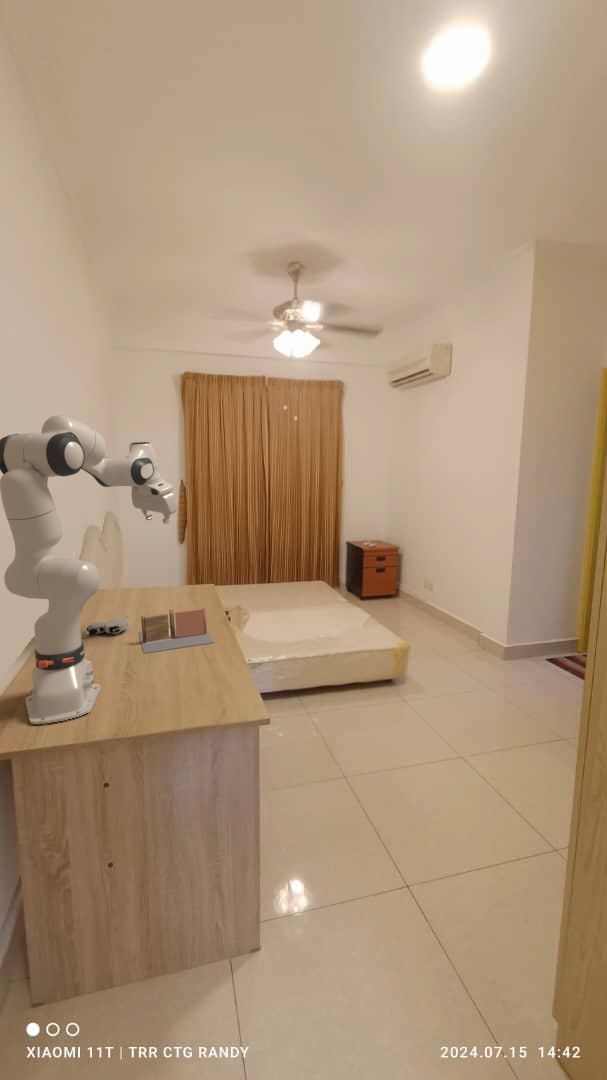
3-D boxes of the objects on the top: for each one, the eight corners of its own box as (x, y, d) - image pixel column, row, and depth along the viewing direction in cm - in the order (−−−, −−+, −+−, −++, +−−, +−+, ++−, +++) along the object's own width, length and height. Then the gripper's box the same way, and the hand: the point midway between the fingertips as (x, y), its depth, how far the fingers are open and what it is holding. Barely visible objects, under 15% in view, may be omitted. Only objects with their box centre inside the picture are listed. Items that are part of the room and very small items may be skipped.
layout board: (214, 642, 171) (213, 641, 171) (144, 653, 162) (143, 652, 162) (202, 624, 191) (202, 623, 191) (139, 633, 182) (139, 632, 182)
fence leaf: (206, 633, 179) (205, 608, 178) (177, 638, 175) (175, 612, 173) (206, 632, 180) (205, 607, 179) (176, 637, 176) (175, 611, 174)
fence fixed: (175, 639, 175) (174, 610, 173) (143, 644, 170) (141, 614, 168) (174, 638, 176) (173, 609, 174) (142, 642, 172) (140, 613, 170)
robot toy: (84, 642, 176) (126, 635, 179) (82, 630, 175) (124, 624, 178) (91, 631, 187) (131, 625, 190) (89, 620, 187) (129, 614, 190)
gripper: (123, 485, 174) (132, 520, 180) (162, 492, 163) (170, 528, 169) (137, 480, 179) (145, 514, 184) (176, 486, 168) (183, 522, 174)
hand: (157, 521), depth 177 cm, fingers open, 8 cm apart
